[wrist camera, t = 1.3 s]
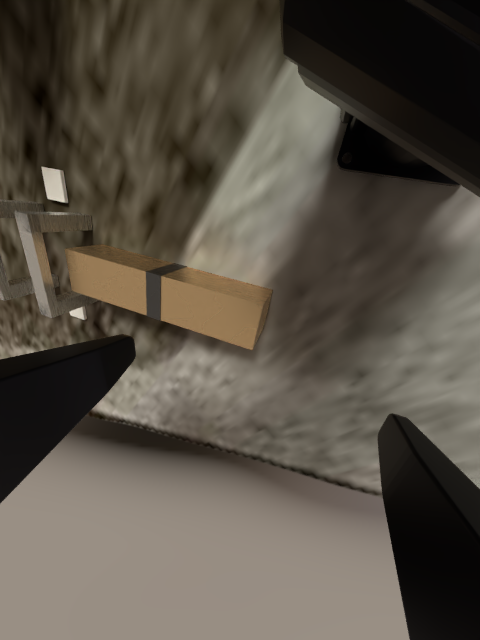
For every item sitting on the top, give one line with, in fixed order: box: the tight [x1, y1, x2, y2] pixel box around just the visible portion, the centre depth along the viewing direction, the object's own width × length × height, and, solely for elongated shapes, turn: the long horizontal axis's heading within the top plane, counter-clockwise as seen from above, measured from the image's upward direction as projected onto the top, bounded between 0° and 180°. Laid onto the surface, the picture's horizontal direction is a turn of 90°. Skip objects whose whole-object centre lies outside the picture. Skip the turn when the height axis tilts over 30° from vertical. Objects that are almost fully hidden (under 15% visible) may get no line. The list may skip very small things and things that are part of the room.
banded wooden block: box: [65, 244, 273, 350], centre depth 18 cm, size 16×4×4 cm, turn 80°
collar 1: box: [0, 200, 60, 300], centre depth 20 cm, size 1×8×5 cm, turn 169°
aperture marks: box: [41, 167, 87, 320], centre depth 22 cm, size 2×14×1 cm, turn 169°
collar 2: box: [14, 211, 100, 318], centre depth 19 cm, size 1×8×5 cm, turn 170°
